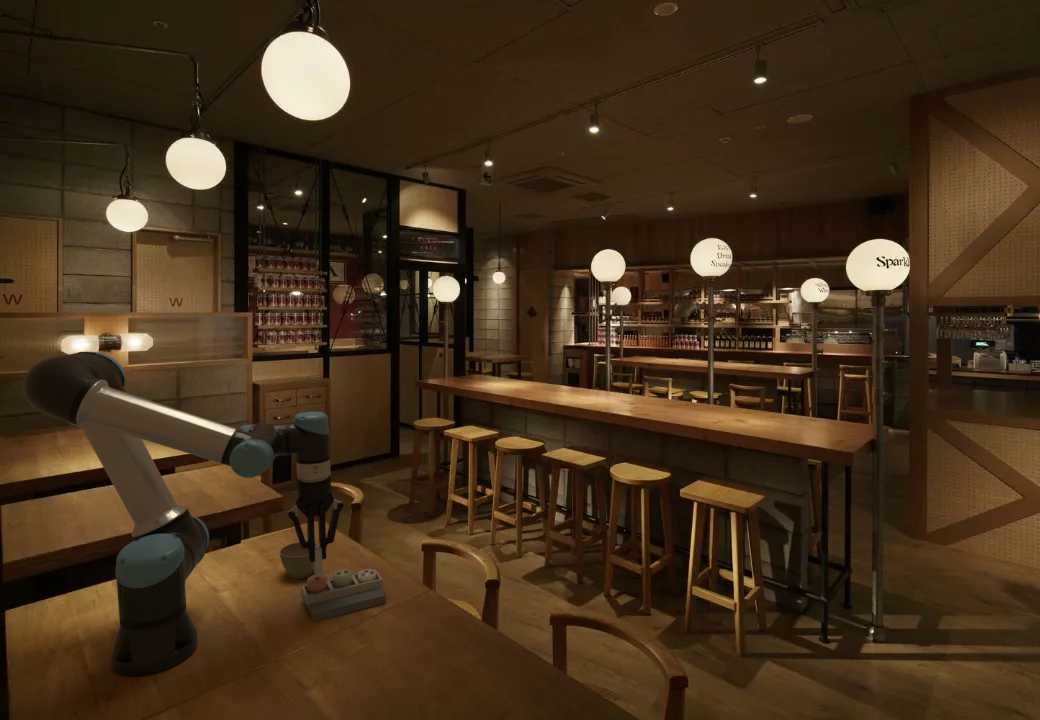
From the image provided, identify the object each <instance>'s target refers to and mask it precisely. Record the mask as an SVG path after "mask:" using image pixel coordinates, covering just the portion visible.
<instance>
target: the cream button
mask: <svg viewBox="0 0 1040 720" xmlns="http://www.w3.org/2000/svg"><path fill="white" fill-rule="evenodd" d="M357 573H358V583H359V584H361V583H365V582H369V581H374V580H376V571H375V569H373V568H364V569H362V570H359V571H358V572H357Z"/></svg>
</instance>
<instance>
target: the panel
mask: <svg viewBox="0 0 1040 720" xmlns="http://www.w3.org/2000/svg"><path fill="white" fill-rule="evenodd" d="M374 570H375V571H376V580H374V581H369V582H365V583H361V584H359V583H358V572H356V573H352V583H351V584H350V585H348V586H345V587H336V586H334V585H333V577H332V578H328V579H327V588H326V590H324V591H322V592H319V593H310V592H308V586H307V584H306V583H305V584H302V585H301V587H300V589H301V590H300V591H301V592H300V593H301V595H302V598H303V600H304V604H305V605H306V608H307V610H308V614H309V616H310V618H311V621H312V623H315V622H319V621H321V620H326V619H330V618H333V617H338V616H341V615H342V616H343V615H346V614H349V613H352V612H357V611H362V610H365V609H368V608H372V607H377V606H379V605H385V604H387V600H386V599H387V595H386V594H385V592H384V590H383V589H382V588H383V587H384V584H383V582H384V581H383V578H382V576H381V574H380V573H379V572H378V570H377V569H376V568H375V569H374Z"/></svg>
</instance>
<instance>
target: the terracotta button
mask: <svg viewBox="0 0 1040 720" xmlns="http://www.w3.org/2000/svg"><path fill="white" fill-rule="evenodd" d="M327 580H328V579H327V575H326V574H323V575H318V576H316V574H313V575H311V576H310V575H309V576H308V578H307V580H306V581H307V582H306V583H307V586H308V592H310V593H319V592H322V591H324V590H326V588H327Z"/></svg>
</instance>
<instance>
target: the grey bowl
mask: <svg viewBox="0 0 1040 720" xmlns="http://www.w3.org/2000/svg"><path fill="white" fill-rule="evenodd" d="M318 544H319V543H317V542H315V545H318ZM279 557H280V561H281V563H282V564H281V565H282V566H283V568H284V570H285V572H286V573H287V575H289V577H290V578H291V579H294V580H299V579H304V578H307V577H310V575H311V573H312V571H314V562H310V560H309V550H308V549H307V548H305V549H303V548H302V547H301V545H300V542H299V541H298V542H292V543H289V544H287V545H285V546H283V547H281V549H280V550H279Z"/></svg>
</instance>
